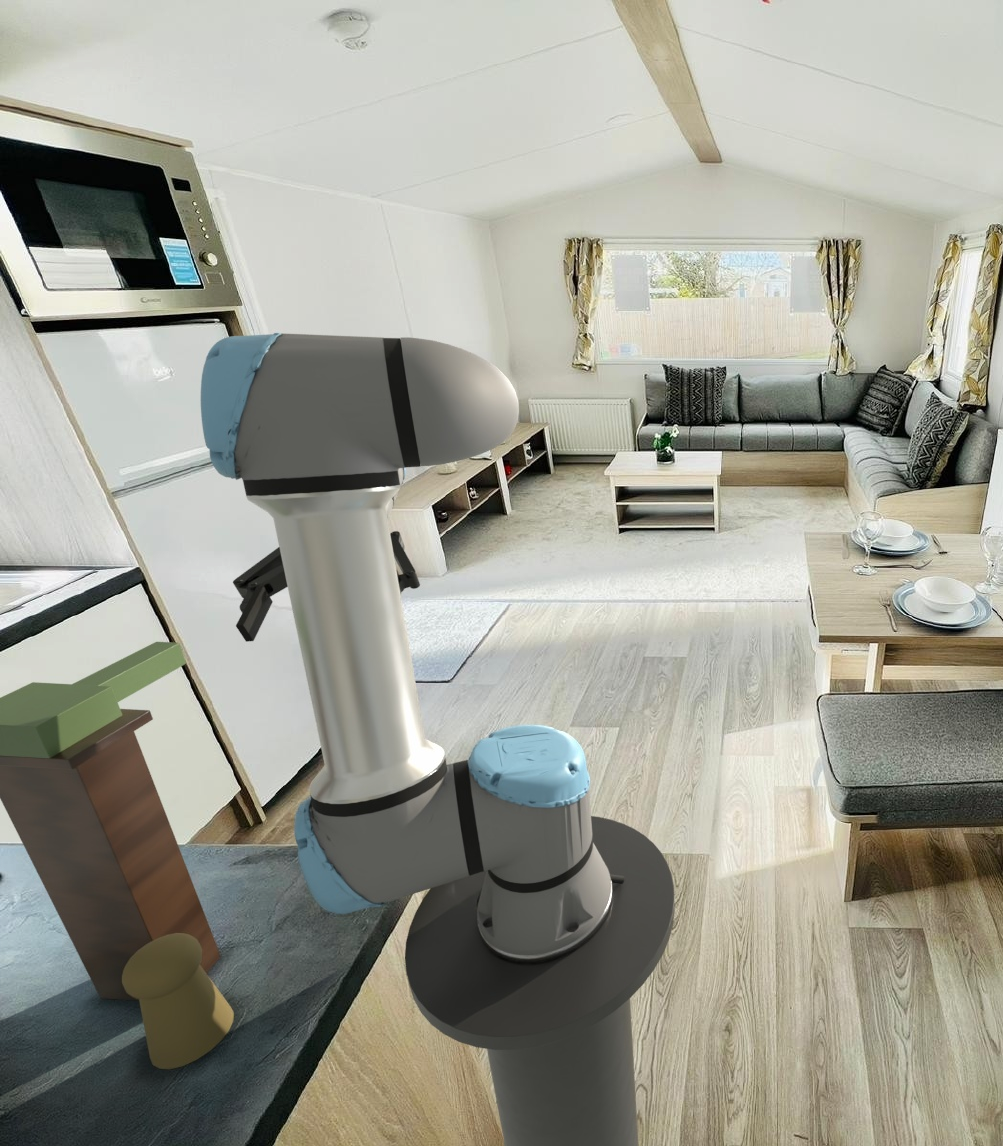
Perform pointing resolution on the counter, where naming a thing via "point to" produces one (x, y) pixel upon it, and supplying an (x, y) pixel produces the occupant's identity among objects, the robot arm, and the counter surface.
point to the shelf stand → (105, 849)
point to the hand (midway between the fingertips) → (311, 629)
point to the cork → (176, 1000)
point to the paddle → (78, 703)
